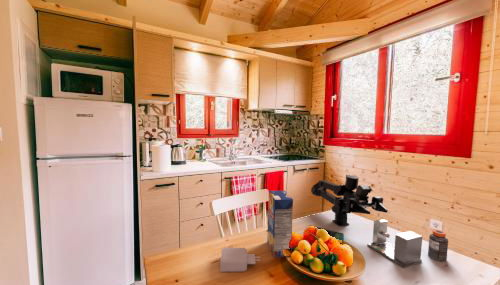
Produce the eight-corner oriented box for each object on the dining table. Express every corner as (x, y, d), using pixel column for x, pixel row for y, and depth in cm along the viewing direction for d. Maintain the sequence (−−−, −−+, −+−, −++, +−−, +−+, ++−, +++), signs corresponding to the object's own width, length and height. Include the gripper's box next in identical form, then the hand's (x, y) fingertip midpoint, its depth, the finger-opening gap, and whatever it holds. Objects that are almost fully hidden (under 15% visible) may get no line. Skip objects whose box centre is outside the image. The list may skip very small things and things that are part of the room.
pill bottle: (443, 255, 92) (445, 229, 91) (449, 263, 87) (451, 236, 86) (425, 251, 94) (428, 226, 94) (430, 259, 89) (432, 233, 88)
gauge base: (367, 245, 98) (368, 222, 97) (384, 241, 102) (386, 219, 101) (403, 267, 83) (405, 240, 82) (421, 261, 87) (424, 235, 86)
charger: (261, 272, 79) (220, 273, 79) (259, 257, 88) (222, 257, 88) (261, 260, 79) (220, 260, 78) (259, 246, 88) (222, 246, 87)
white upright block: (368, 243, 98) (370, 221, 97) (381, 240, 101) (383, 219, 100) (378, 249, 93) (380, 226, 92) (392, 245, 96) (394, 224, 95)
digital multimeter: (313, 230, 113) (313, 225, 113) (344, 238, 105) (344, 232, 105) (309, 236, 106) (309, 230, 106) (342, 245, 99) (342, 239, 99)
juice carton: (267, 241, 100) (268, 190, 98) (283, 240, 101) (284, 190, 99) (273, 257, 88) (275, 199, 86) (291, 256, 89) (293, 199, 87)
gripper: (340, 183, 107) (363, 196, 92) (371, 181, 111) (398, 194, 96) (337, 204, 109) (359, 220, 94) (368, 202, 113) (394, 217, 98)
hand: (378, 212), depth 96 cm, fingers open, 9 cm apart
